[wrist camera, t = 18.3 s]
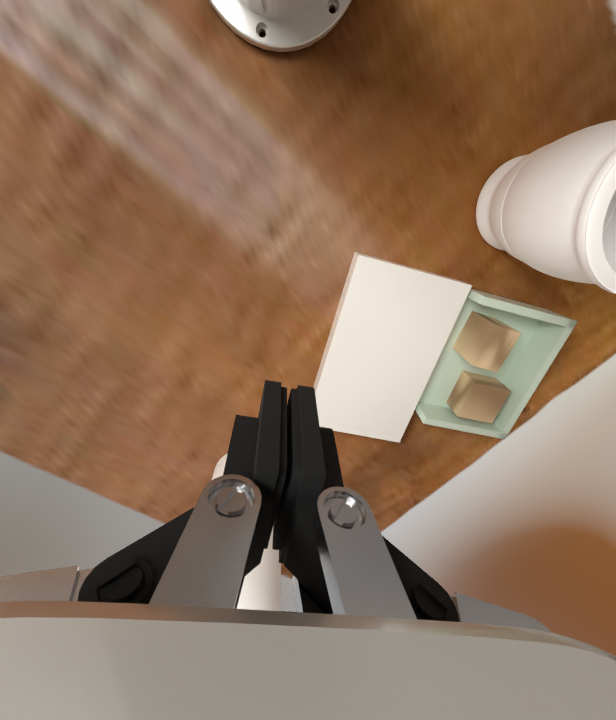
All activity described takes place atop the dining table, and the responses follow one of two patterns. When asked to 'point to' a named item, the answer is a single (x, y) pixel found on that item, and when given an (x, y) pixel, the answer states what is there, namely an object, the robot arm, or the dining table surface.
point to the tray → (517, 372)
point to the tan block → (477, 397)
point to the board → (384, 346)
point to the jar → (558, 207)
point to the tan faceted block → (485, 341)
